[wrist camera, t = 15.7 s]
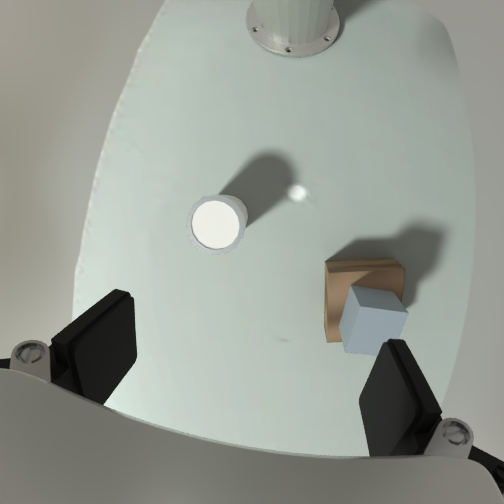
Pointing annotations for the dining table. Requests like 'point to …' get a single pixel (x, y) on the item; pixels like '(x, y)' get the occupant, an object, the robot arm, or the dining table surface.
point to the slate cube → (370, 319)
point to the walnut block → (358, 274)
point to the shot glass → (217, 223)
